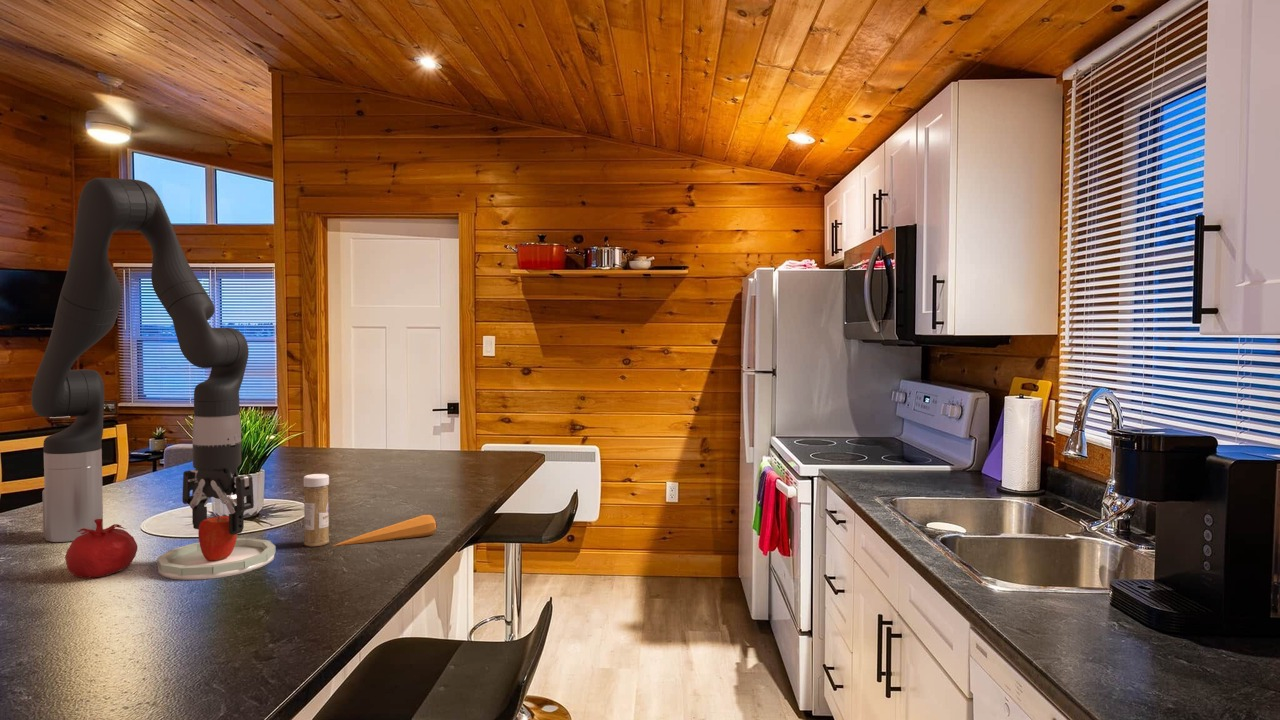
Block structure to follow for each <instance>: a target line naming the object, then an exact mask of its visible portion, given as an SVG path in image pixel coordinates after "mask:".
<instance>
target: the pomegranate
mask: <svg viewBox="0 0 1280 720" xmlns="http://www.w3.org/2000/svg"><path fill="white" fill-rule="evenodd" d="M94 521H95V523H96V530H89V529H85V528H83V529H81V530H79V531H77V532H81V531H85V532H83V533H81V534H83V535H81V536H79V537H77V538H76V539H75V540H74V541H71V543H70V545H69V547H68V549H67V550H66V553H65V556H64V558H65V565H66V567H67V571H69V572H70V573H71V574H72V575H74V576H76V577H78V578H84V579H86V578H87V579H88V578H91V579H93V578H99V577H106V576H109V575H112V574H113V575H114V573H115V574H116V573H119V571H122V570H124V569H126V568H128V567H129V566H130V565H131V564H132V563H133V560H134V559H135V557H136V555H137V552H138V543H137V542H136V540H135V538H134V536H132V535H131V534H130V533H129V532H128V531H127V528H125V527H123V526H122V524H118V523H117V524H112V525H111V526H108V527H106V528H104V526H103V527H102V521H103V522H104V518H103V519H96V520H94ZM88 532H89V533H88ZM85 533H86V534H85Z"/></svg>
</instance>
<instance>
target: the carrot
mask: <svg viewBox="0 0 1280 720" xmlns="http://www.w3.org/2000/svg"><path fill="white" fill-rule="evenodd" d="M437 527H438V524H437V520H436V519H435V517H433V515H432V514H423V515H419V516H416V517H413V518H410V519H407V520H403V521H400V522H397V523H395V524H391V525H388V526H384V527H382V528H379V529H375V530H373V531H369V532H366V533H363V534H361V535H357V536H355V537H352V538H350V539H346V540H343V541H342V542H338V543H336V544H334V545H333V544H332V547H337V546H338V545H339V546H346V545H348V546H349V545H358V544H359V545H360V544H366V543H367V544H368V543H377V542H386V541H394V540H395V539H396V540H403V538H405V539H412V538H421V537H430V536H432V535H434V534H435V532H436V529H437Z"/></svg>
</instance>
